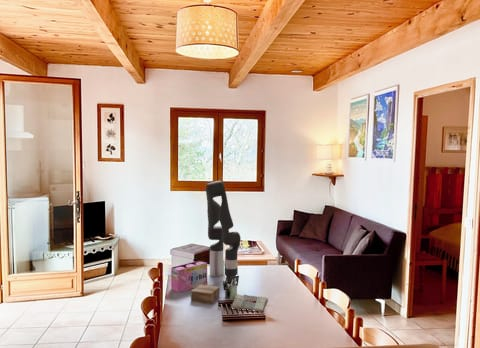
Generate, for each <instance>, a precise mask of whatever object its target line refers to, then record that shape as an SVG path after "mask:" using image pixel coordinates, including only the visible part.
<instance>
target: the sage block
mask: <svg viewBox="0 0 480 348" xmlns="http://www.w3.org/2000/svg"><path fill="white" fill-rule="evenodd" d="M225 288H226V287H225ZM228 289H229V287H228ZM237 294H238V286H236V285H232V287H231V288H230V297H229V298H228V297H226V291H225V290H224V298H228V299H235V297H236V295H237Z"/></svg>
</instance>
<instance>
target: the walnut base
mask: <svg viewBox="0 0 480 348" xmlns="http://www.w3.org/2000/svg"><path fill="white" fill-rule="evenodd" d="M218 298H220V286H216V285H208V284H205V285H203V284H200V285H199V286H197V287H195V288H192V289H191V290H190V301H191V302H193V303H201V304H206V305H207V304H208V305H212V304H213V303H214V302H215V301H216V300H217V299H218Z"/></svg>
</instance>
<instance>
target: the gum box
mask: <svg viewBox="0 0 480 348" xmlns="http://www.w3.org/2000/svg"><path fill="white" fill-rule="evenodd" d="M170 268H171V269H170V271H171V272H170V283H171V284H170V290H172V291H174V292H176V293H182V292H185V291H188V290H193V289H195V288H196V287H197V286H199V285H200V284H203V285H208V262H205V261H202V260H197V261H193V262H188V263H184V264H181V265H176V266H171V267H170Z"/></svg>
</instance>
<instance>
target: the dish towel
mask: <svg viewBox="0 0 480 348" xmlns="http://www.w3.org/2000/svg"><path fill="white" fill-rule="evenodd" d="M233 299H234V300H233V302H232V303H231V306H230V309H231V308H237V309H248V310H255V311H261V312H260V313H264V311H265V309H266V306H267V303H268V300H269V299H268V297H264V296H257V295H256V296H255V295H247V294H243V295H241V294H238V293H237V295H236V297H234V298H233ZM246 300H256V303H253V302H250V301H248V302H246Z"/></svg>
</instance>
